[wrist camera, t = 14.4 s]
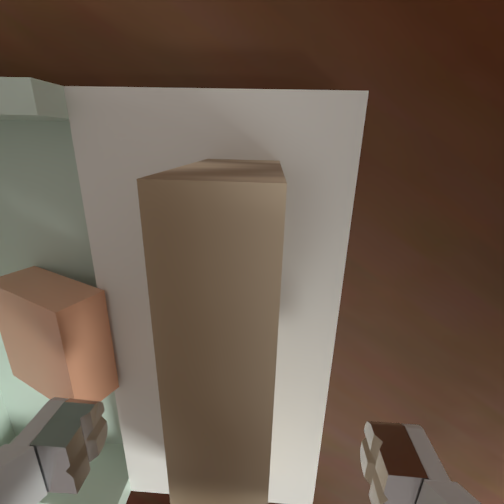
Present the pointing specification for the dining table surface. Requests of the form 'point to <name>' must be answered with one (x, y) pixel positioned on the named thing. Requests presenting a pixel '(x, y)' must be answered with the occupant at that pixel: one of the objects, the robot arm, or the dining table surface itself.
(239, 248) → the bar
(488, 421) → the dining table surface
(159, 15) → the dining table surface
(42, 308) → the terracotta tile
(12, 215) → the box
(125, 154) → the plate
